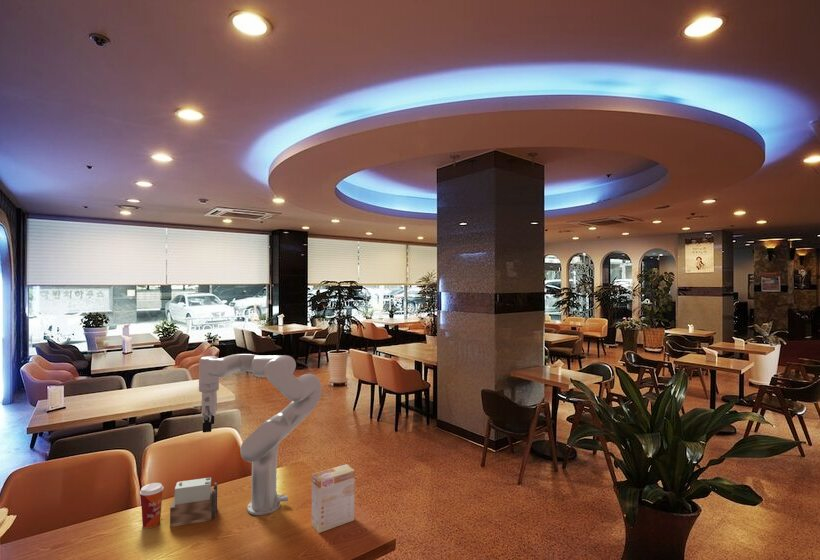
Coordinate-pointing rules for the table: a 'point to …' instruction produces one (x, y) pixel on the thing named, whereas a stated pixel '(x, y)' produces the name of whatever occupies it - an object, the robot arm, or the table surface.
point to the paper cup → (151, 504)
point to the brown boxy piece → (194, 510)
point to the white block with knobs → (192, 491)
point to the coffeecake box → (332, 497)
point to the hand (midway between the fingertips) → (208, 427)
